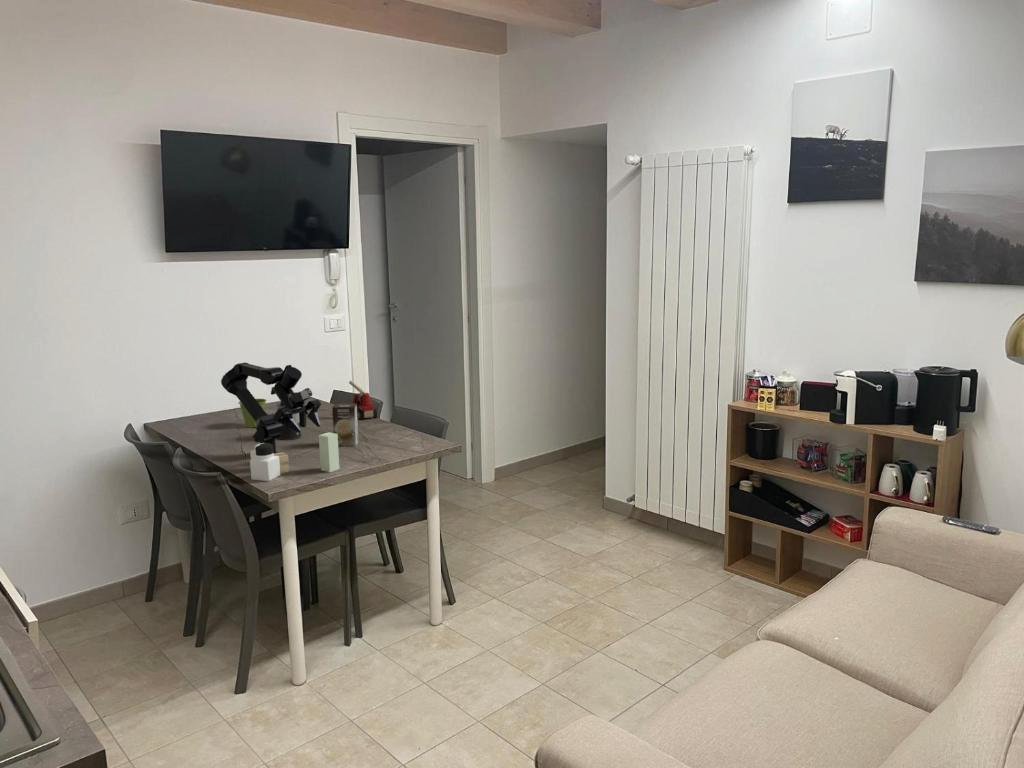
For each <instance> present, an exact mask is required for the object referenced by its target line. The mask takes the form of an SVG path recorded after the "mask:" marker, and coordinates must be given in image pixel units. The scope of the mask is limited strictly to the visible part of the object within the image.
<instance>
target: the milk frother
mask: <svg viewBox="0 0 1024 768" xmlns="http://www.w3.org/2000/svg"><path fill="white" fill-rule="evenodd" d="M280 403H281V401H278V402H277V403H275V405H276V411H277V410H278V409H279V408H283V407H284V406H281V405H280ZM303 406H306V405H305V404H303ZM293 419H294V420H295V422H296V423H297V425H298V426H299V428H300V429H301V428H306V427H307V414H305V412H301V413H297V414H293ZM281 426H282V431H281V437H280V438H278V439H280V440H282V441H289V440H290V441H291V440H297V439H299V438H301V437H302V433H301V431H302V430H301V431H300V432H297V431H295V430H293V429H291V428H289V427H287V426H285V425H282V424H281Z"/></svg>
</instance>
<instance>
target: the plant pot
mask: <svg viewBox="0 0 1024 768" xmlns="http://www.w3.org/2000/svg"><path fill="white" fill-rule="evenodd" d="M255 399H256V401H257V402H258V403H259V404H260V406H261V407H262V408H263V410H264V411H265V407H266V403H267V399H266V398H255ZM237 403H238V405H239V406H240V409H241V413H242V416H243V419H244V420H243V421H244V425H245V427H246V428H249V429H251V428H256V422H255V420H254V419H253V417H252V416H251V415H250V413H249V412H248V411H247V410H246V408H245V407H244V406H243V404H242V403H241V402H240V400H239V401H238V402H237Z"/></svg>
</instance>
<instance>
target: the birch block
mask: <svg viewBox="0 0 1024 768" xmlns="http://www.w3.org/2000/svg"><path fill="white" fill-rule="evenodd" d="M273 456H279V462H280V474H284V473H288V472H290V463H289V455H288V454H287V453H286V452H284V451H283V452H277V453H276V454H274V455H273Z"/></svg>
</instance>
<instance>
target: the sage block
mask: <svg viewBox="0 0 1024 768" xmlns="http://www.w3.org/2000/svg"><path fill="white" fill-rule="evenodd" d="M318 444H319V445H318V446H319V447H318V448H319V459H320V461H319V462H320V471H323V472H328V473H332V472H334V471H338V470H340V458H339V457H340V453H339V452H340V451H339V446H338V434H335V433H333V432H326V433H322V434H318Z"/></svg>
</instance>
